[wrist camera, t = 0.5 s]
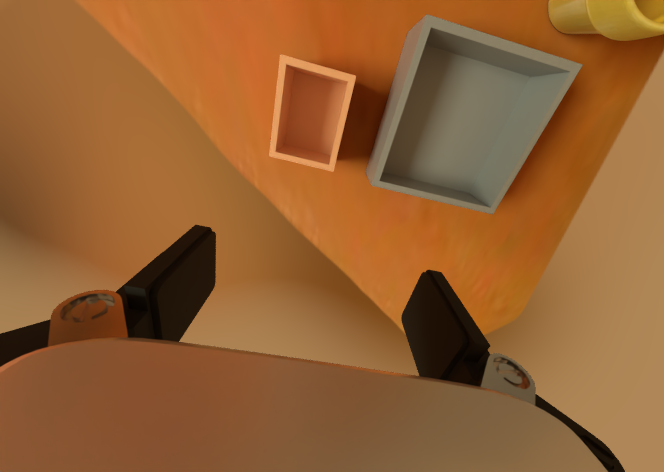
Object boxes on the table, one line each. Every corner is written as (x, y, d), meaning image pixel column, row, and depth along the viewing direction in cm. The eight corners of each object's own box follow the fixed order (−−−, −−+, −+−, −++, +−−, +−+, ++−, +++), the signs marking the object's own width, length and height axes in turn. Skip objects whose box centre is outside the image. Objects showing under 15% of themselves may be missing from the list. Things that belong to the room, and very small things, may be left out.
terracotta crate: (290, 63, 27) (280, 54, 22) (352, 80, 28) (356, 75, 23) (280, 147, 31) (269, 156, 26) (333, 160, 32) (333, 171, 27)
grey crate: (407, 32, 26) (426, 14, 20) (534, 71, 27) (582, 64, 22) (365, 172, 33) (371, 185, 27) (468, 197, 34) (492, 214, 29)
